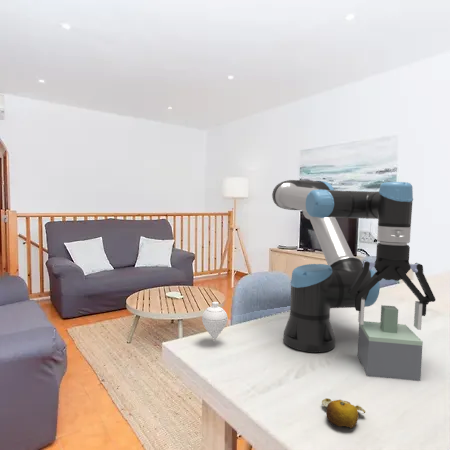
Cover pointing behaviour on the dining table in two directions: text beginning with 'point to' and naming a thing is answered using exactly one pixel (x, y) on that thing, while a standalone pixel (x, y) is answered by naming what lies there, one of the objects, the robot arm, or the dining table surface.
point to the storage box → (389, 359)
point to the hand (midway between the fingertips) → (388, 325)
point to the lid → (390, 329)
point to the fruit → (341, 412)
